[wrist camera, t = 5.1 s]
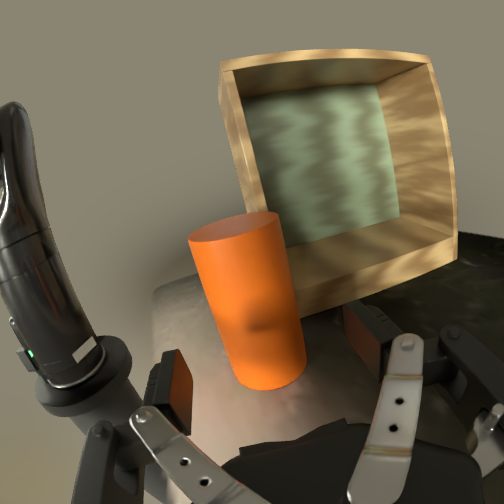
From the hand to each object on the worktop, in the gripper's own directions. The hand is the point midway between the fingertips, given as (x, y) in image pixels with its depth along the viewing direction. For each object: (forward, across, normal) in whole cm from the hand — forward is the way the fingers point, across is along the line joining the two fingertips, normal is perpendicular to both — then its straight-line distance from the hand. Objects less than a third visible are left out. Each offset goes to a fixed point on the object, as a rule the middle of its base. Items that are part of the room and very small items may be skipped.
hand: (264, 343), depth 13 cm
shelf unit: (+17, -13, +6) cm, 22 cm away
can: (+6, 0, +6) cm, 9 cm away
